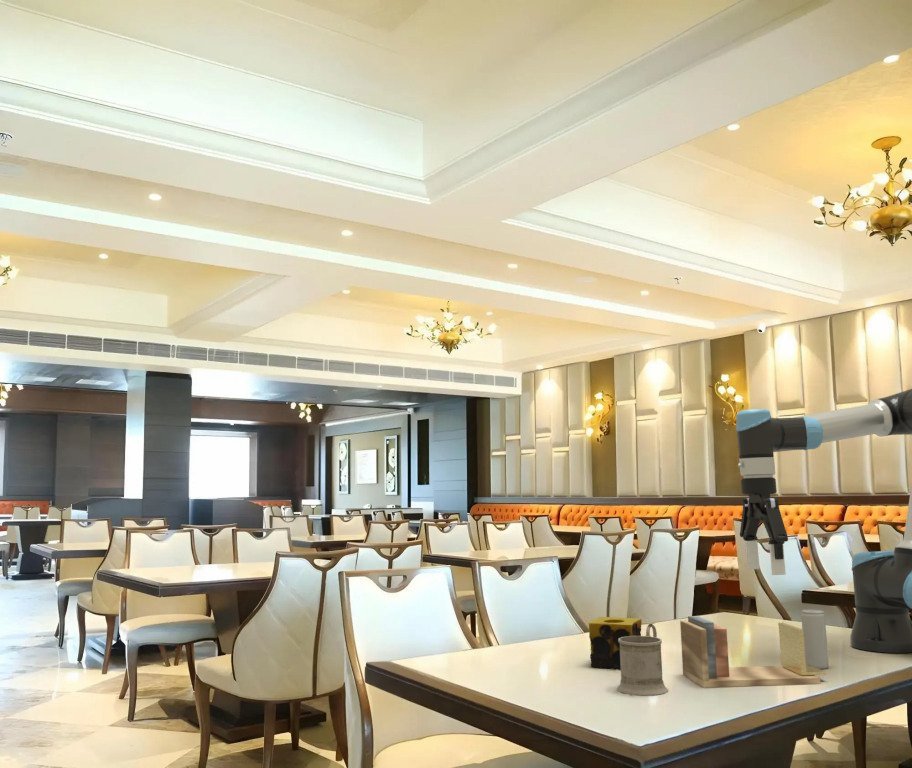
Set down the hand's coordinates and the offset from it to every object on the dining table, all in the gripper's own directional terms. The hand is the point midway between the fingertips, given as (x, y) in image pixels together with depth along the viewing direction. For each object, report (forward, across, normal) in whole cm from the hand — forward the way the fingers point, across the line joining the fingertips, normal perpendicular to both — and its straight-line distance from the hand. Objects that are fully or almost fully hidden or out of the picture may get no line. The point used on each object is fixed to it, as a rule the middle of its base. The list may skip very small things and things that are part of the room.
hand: (765, 572), depth 185 cm
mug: (+20, +16, -33) cm, 42 cm away
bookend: (+19, +11, +1) cm, 22 cm away
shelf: (+20, +12, -10) cm, 26 cm away
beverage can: (+21, +2, +9) cm, 23 cm away
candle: (+20, -6, -33) cm, 40 cm away
